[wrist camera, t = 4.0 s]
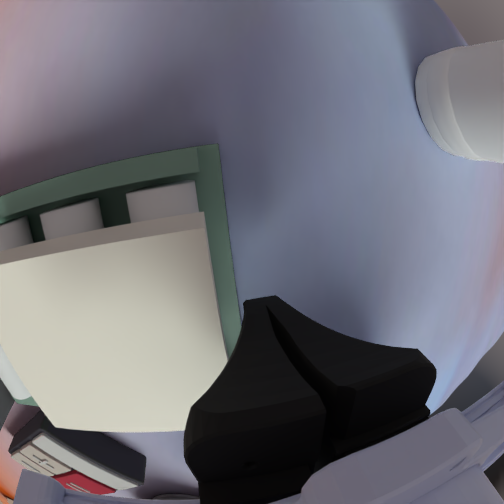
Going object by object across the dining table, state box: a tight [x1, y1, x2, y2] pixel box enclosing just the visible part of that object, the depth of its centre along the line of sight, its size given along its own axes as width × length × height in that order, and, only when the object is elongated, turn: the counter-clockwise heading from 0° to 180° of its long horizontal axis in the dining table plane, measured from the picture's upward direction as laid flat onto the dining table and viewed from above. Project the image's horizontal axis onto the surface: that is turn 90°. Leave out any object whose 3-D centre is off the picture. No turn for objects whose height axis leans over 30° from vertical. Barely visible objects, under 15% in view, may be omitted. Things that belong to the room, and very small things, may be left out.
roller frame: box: [0, 144, 241, 430], centre depth 11 cm, size 20×14×7 cm
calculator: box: [8, 410, 146, 495], centre depth 18 cm, size 11×4×15 cm
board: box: [0, 211, 229, 432], centre depth 10 cm, size 10×9×2 cm
